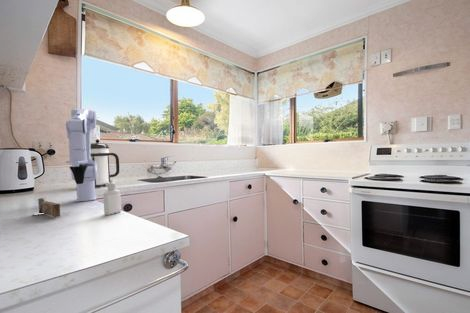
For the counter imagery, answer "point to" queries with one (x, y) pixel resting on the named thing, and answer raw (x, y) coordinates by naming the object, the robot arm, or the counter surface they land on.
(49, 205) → the gate
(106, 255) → the counter surface
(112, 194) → the eye dropper bottle
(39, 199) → the gate post
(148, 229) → the counter surface
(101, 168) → the coffee press
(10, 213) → the counter surface
